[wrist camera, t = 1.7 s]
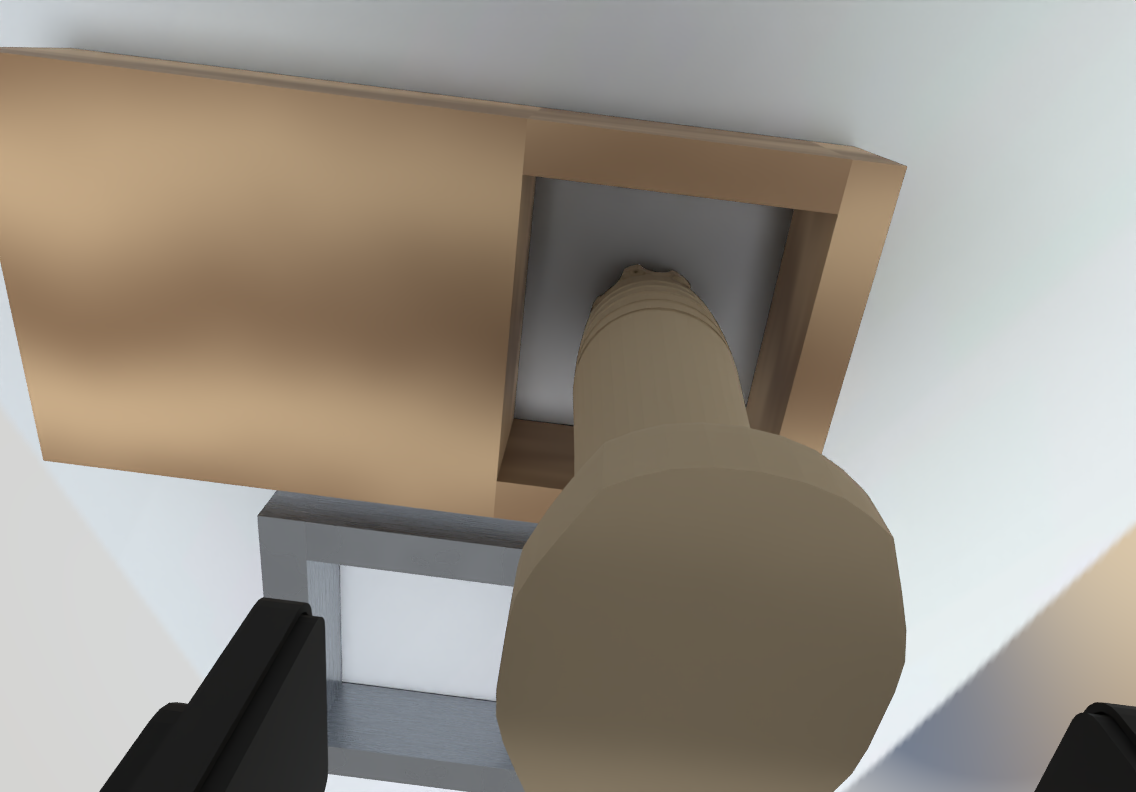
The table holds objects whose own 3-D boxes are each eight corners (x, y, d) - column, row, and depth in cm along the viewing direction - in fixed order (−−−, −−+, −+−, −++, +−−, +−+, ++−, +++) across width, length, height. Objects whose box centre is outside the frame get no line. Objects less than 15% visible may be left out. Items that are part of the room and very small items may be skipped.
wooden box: (70, 48, 21) (-46, 46, 17) (855, 146, 20) (907, 166, 17) (125, 402, 25) (43, 460, 22) (765, 483, 25) (791, 555, 21)
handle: (552, 391, 24) (473, 825, 11) (585, 193, 21) (537, 434, 8) (697, 416, 24) (805, 879, 11) (749, 222, 22) (982, 509, 8)
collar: (294, 467, 26) (257, 515, 23) (591, 505, 26) (589, 558, 23) (306, 704, 31) (276, 767, 28) (556, 736, 31) (551, 802, 28)
